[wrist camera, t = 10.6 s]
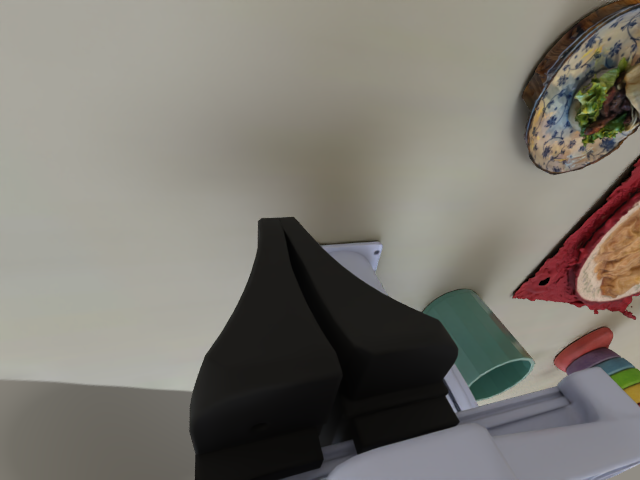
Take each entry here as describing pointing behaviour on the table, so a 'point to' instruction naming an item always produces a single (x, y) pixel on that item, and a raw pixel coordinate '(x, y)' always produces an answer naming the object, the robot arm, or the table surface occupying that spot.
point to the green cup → (481, 344)
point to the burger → (586, 91)
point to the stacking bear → (600, 361)
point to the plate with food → (597, 257)
